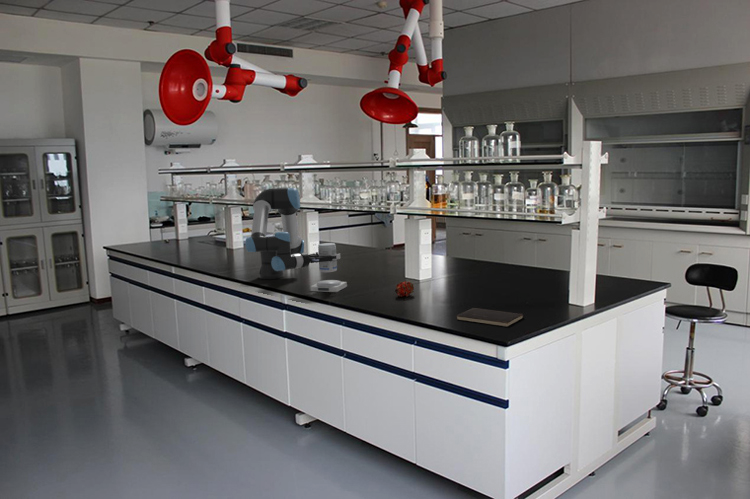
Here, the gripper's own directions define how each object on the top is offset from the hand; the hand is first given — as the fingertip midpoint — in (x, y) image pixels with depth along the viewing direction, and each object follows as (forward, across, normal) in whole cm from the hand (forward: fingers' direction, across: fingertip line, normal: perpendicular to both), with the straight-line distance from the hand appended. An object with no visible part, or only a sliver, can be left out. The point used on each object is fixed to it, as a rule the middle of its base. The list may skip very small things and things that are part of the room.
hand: (334, 255), depth 321 cm
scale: (-4, 0, -18) cm, 18 cm away
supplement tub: (-4, 0, -8) cm, 9 cm away
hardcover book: (+2, +103, -19) cm, 105 cm away
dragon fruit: (+9, +45, -18) cm, 49 cm away
